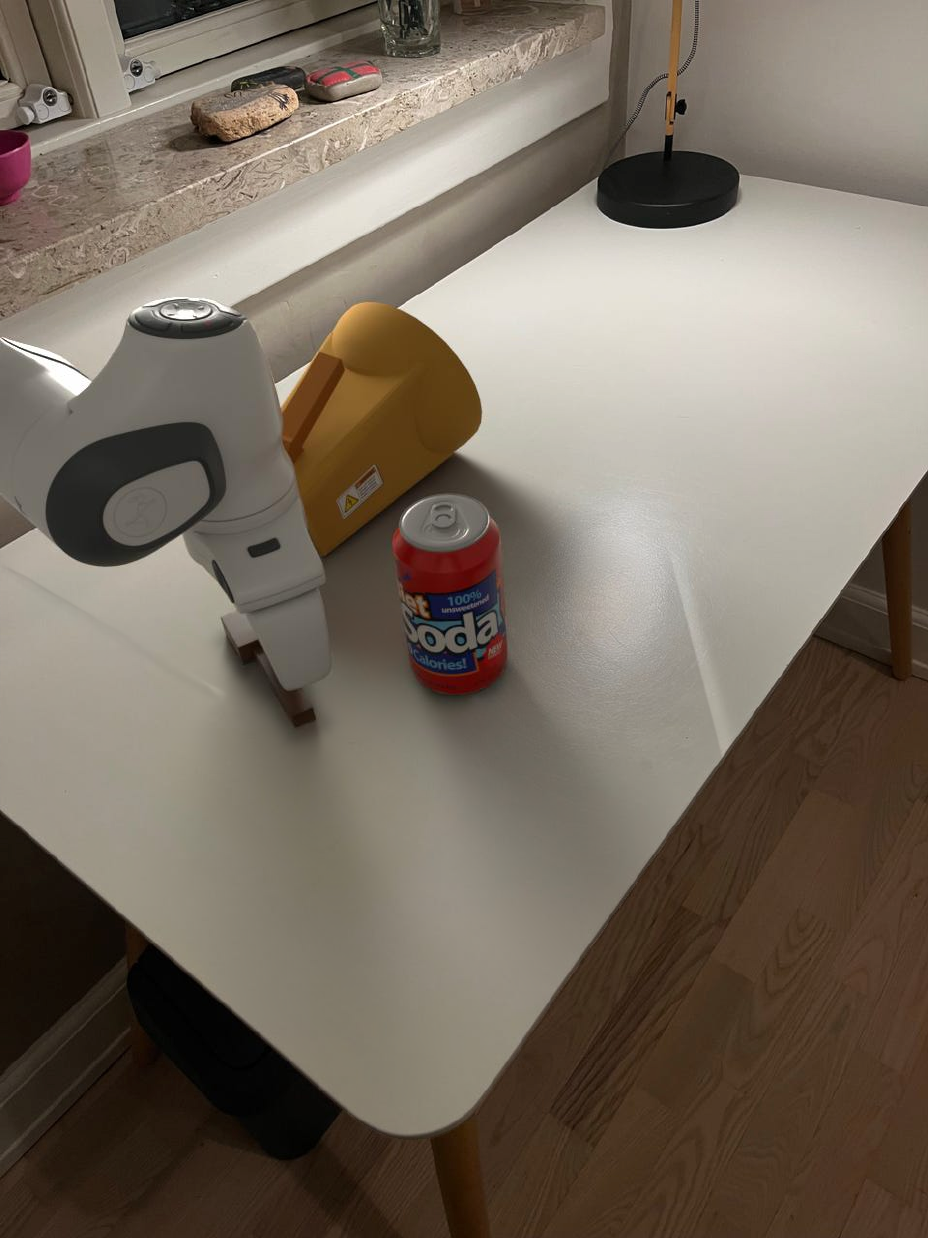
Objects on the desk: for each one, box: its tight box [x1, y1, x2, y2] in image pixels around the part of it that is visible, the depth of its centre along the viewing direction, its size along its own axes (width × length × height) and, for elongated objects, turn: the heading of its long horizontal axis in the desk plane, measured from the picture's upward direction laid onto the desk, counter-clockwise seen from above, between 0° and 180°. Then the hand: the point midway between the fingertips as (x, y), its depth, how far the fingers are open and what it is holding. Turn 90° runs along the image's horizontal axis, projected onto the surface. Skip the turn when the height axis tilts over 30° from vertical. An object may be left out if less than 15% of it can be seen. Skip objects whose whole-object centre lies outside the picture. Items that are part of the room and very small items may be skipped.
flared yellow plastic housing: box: [280, 301, 483, 557], centre depth 96 cm, size 20×17×18 cm
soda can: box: [392, 492, 508, 696], centre depth 78 cm, size 8×8×15 cm
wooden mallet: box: [220, 610, 317, 729], centre depth 83 cm, size 13×4×2 cm, turn 29°
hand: (278, 650), depth 84 cm, fingers closed
